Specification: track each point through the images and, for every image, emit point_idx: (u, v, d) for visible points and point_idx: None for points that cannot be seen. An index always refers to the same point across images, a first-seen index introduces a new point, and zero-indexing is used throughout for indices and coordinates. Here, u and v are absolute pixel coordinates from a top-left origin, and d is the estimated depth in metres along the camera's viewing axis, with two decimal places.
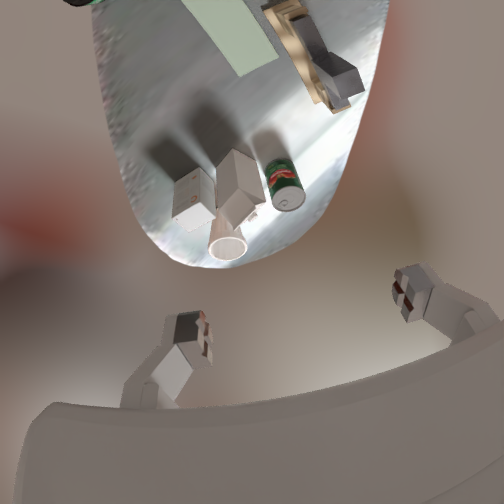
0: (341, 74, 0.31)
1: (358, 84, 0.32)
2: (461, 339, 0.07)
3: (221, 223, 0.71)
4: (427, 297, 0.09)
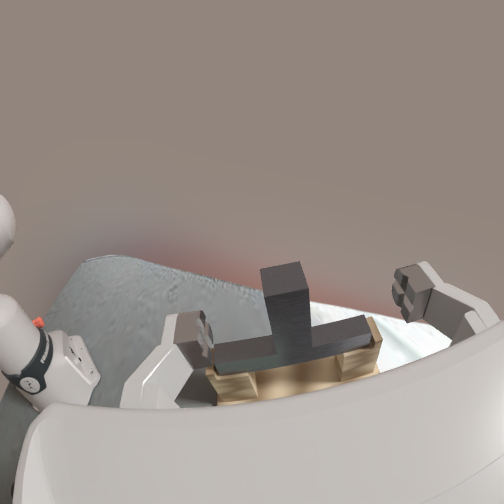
0: (264, 286, 0.26)
1: (286, 268, 0.27)
2: (461, 339, 0.07)
3: None
4: (427, 297, 0.09)
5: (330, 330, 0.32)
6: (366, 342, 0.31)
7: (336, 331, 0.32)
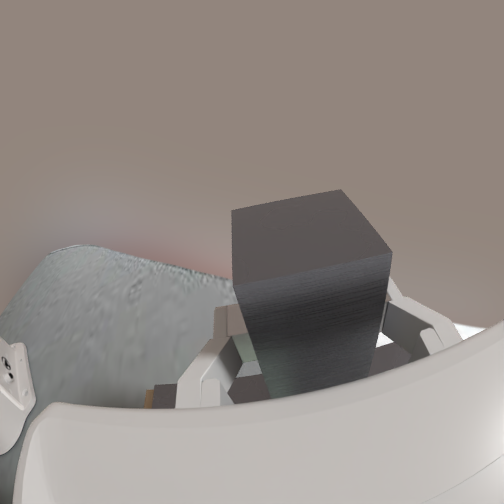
0: (237, 251, 0.08)
1: (308, 203, 0.09)
2: (417, 358, 0.08)
3: None
4: None
5: (391, 360, 0.14)
6: None
7: (403, 362, 0.13)
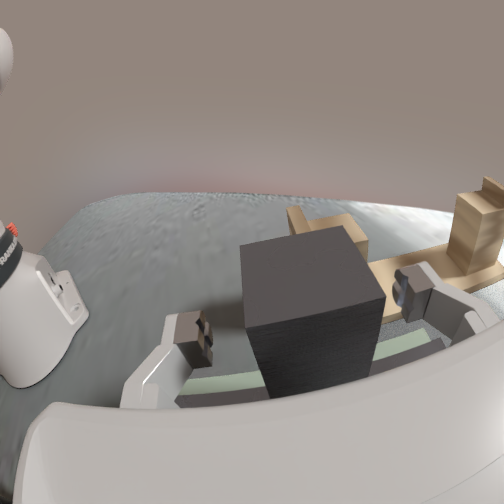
0: (247, 291, 0.08)
1: (312, 241, 0.10)
2: (461, 339, 0.07)
3: None
4: (427, 297, 0.09)
5: None
6: None
7: None
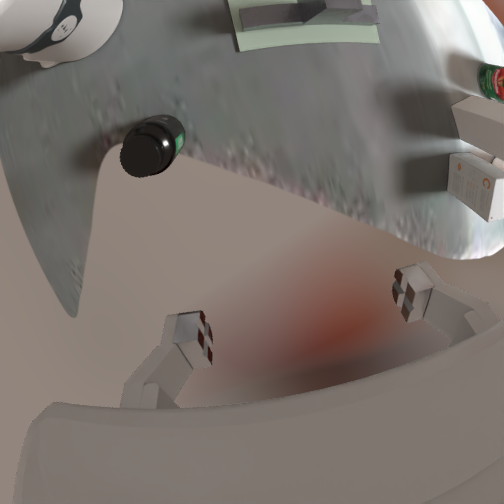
0: None
1: None
2: (461, 339, 0.07)
3: None
4: (427, 297, 0.09)
5: None
6: (370, 24, 0.27)
7: None
